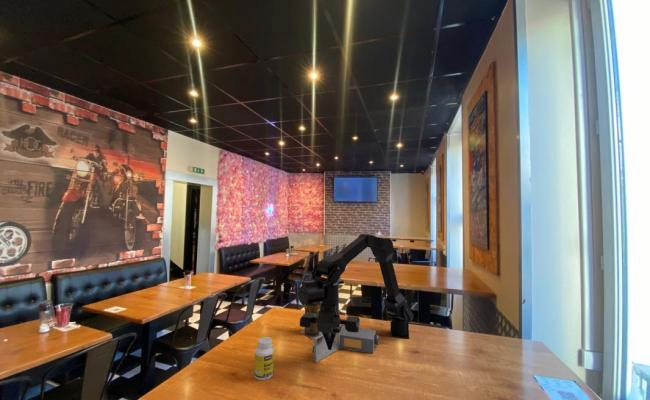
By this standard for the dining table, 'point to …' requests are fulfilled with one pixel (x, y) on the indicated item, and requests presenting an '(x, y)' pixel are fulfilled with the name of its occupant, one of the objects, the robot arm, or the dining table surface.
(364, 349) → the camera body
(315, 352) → the side door
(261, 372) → the supplement bottle
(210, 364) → the dining table surface
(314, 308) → the condiment
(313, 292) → the robot arm
